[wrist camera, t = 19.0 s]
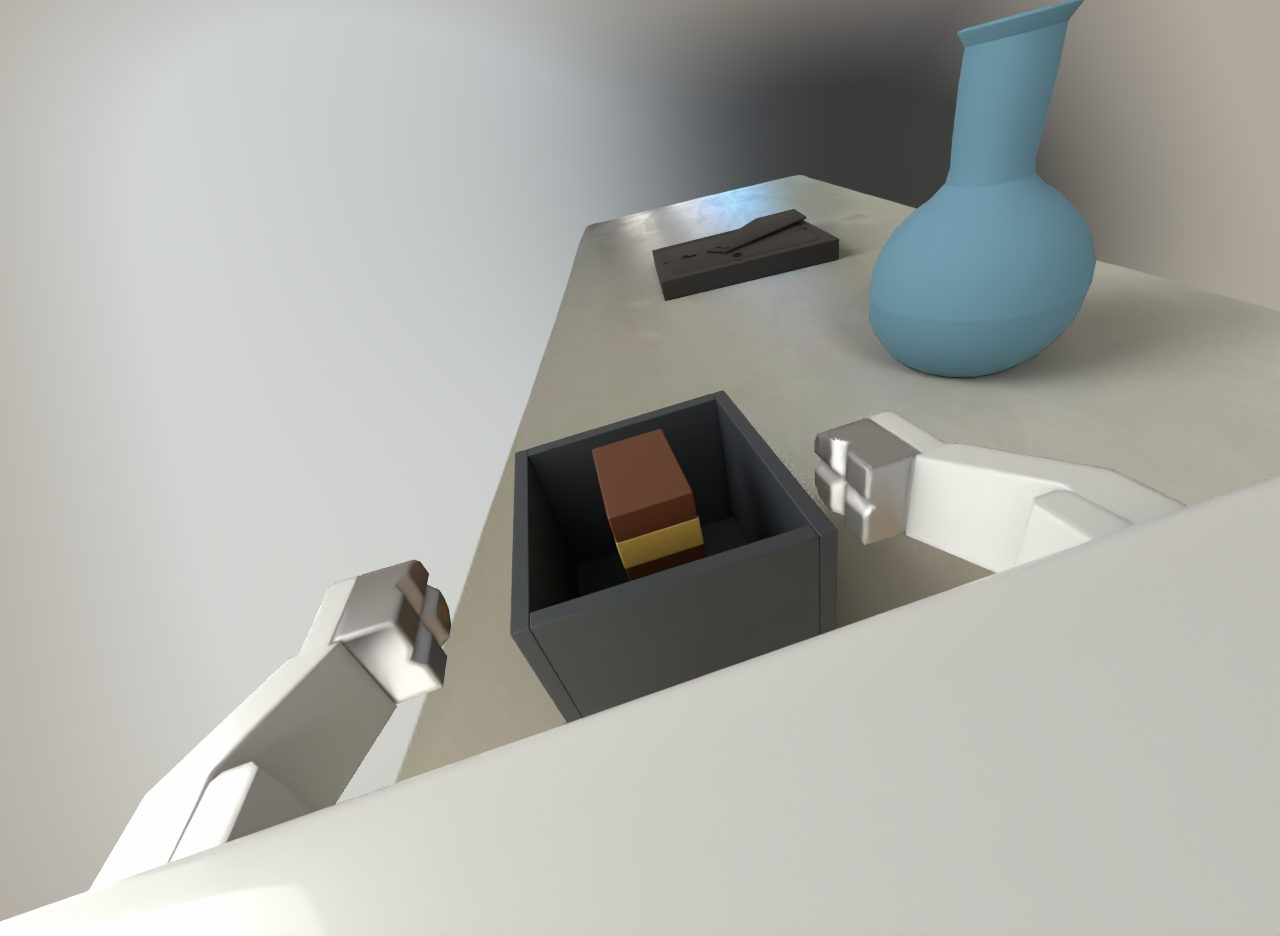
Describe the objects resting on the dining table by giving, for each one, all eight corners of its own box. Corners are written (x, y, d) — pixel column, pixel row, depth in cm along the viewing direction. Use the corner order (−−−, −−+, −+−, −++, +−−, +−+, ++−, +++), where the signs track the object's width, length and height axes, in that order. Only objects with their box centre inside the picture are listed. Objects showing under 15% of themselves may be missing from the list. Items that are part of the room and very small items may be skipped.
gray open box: (586, 754, 25) (509, 634, 19) (567, 566, 36) (514, 452, 30) (834, 673, 25) (838, 530, 19) (740, 512, 36) (723, 389, 30)
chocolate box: (656, 657, 28) (606, 518, 21) (635, 579, 33) (590, 448, 26) (723, 635, 28) (693, 491, 21) (692, 561, 33) (661, 427, 26)
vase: (935, 416, 40) (1000, 21, 26) (833, 347, 54) (838, 63, 39) (1119, 361, 41) (1285, -59, 26) (972, 306, 54) (1028, 10, 40)
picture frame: (794, 232, 96) (655, 266, 99) (794, 208, 93) (651, 244, 96) (838, 259, 77) (664, 300, 80) (839, 231, 75) (660, 275, 77)
